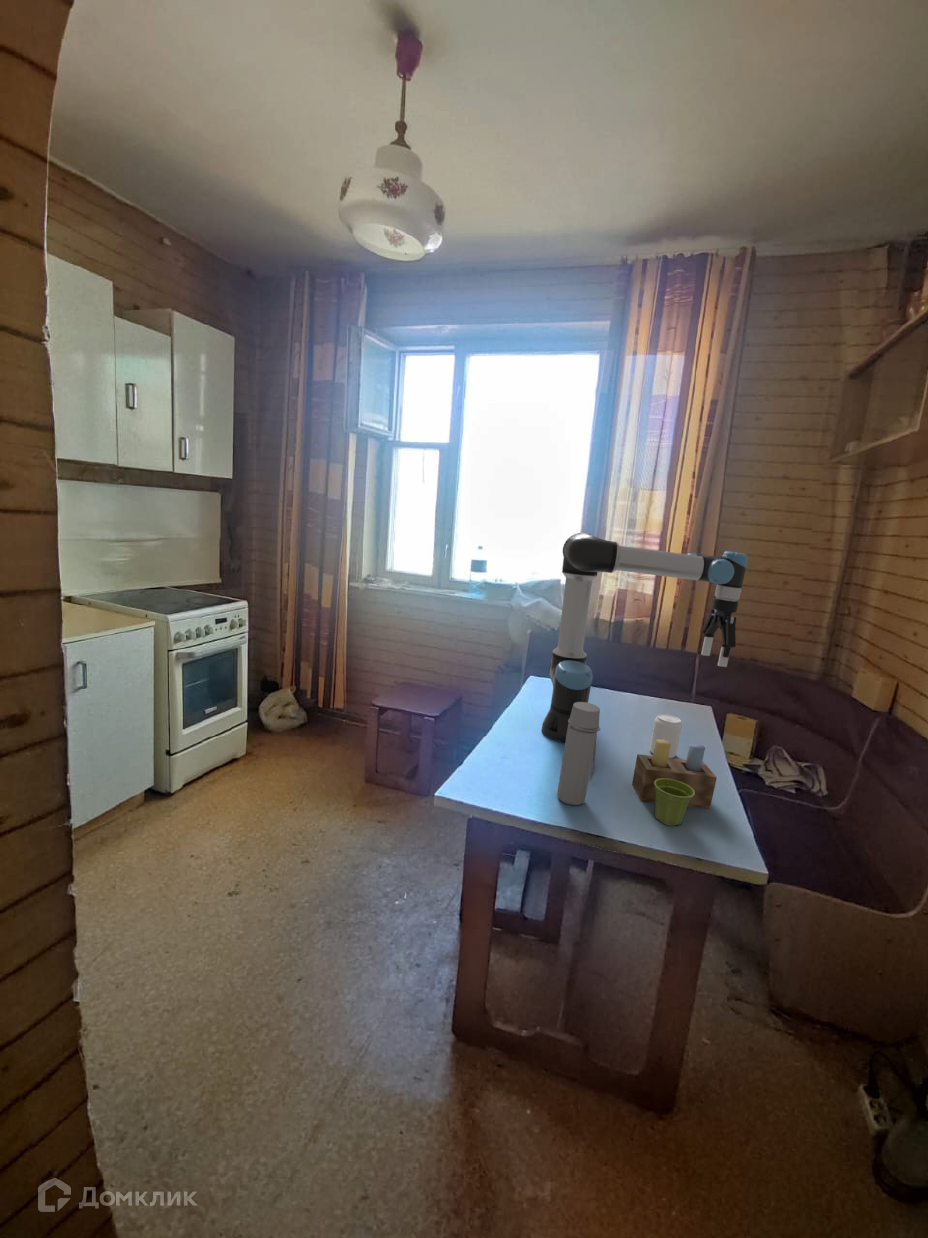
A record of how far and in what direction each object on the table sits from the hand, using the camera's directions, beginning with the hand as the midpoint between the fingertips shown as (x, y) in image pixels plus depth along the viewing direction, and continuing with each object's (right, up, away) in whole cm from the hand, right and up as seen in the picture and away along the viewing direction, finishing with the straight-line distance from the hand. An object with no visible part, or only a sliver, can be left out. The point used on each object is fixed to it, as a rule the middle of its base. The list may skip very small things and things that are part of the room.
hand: (713, 660), depth 194 cm
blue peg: (-24, -27, -42) cm, 55 cm away
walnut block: (-29, -33, -41) cm, 60 cm away
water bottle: (-56, -32, -48) cm, 80 cm away
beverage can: (-22, -29, -13) cm, 38 cm away
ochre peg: (-33, -26, -42) cm, 59 cm away
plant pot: (-34, -35, -52) cm, 72 cm away
